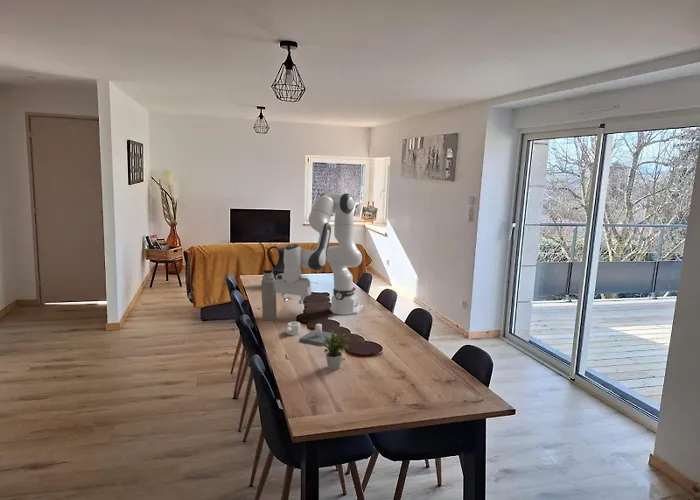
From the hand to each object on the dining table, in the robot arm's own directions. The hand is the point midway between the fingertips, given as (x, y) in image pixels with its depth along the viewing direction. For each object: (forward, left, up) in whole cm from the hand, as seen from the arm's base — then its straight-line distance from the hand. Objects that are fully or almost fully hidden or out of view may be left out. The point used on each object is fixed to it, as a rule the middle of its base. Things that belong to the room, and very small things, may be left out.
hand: (293, 302), depth 250 cm
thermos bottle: (-14, -26, -17) cm, 34 cm away
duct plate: (+2, +16, -17) cm, 23 cm away
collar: (+2, 0, -17) cm, 17 cm away
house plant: (+30, +40, -17) cm, 53 cm away
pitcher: (-75, -59, -17) cm, 97 cm away
